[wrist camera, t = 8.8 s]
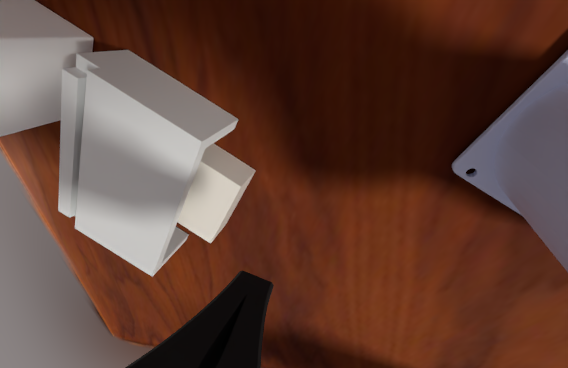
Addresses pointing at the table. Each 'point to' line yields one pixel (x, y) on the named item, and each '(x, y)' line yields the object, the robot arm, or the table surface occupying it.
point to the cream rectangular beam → (214, 192)
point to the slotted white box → (131, 153)
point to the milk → (34, 63)
